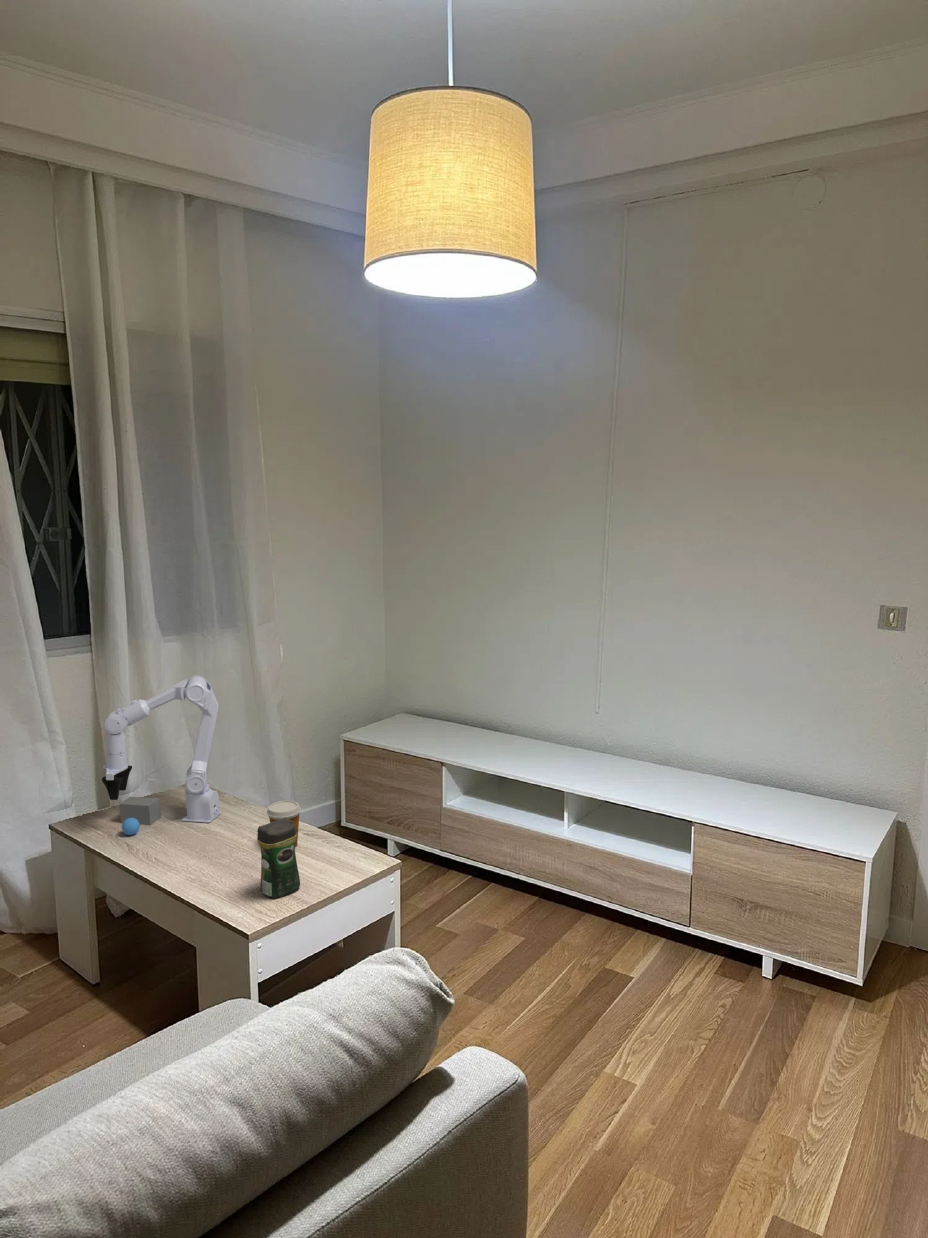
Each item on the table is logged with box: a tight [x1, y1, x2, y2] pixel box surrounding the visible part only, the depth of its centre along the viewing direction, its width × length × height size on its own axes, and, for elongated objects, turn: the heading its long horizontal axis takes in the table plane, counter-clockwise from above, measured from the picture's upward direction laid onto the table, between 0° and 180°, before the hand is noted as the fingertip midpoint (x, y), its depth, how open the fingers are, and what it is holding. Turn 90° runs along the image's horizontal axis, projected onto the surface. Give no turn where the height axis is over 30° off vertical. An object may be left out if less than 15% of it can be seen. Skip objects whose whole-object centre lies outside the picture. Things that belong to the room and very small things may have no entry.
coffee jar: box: [256, 818, 301, 899], centre depth 228 cm, size 10×8×19 cm
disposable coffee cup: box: [266, 800, 302, 848], centre depth 254 cm, size 10×10×12 cm
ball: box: [121, 818, 141, 836], centre depth 265 cm, size 5×5×5 cm
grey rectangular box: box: [118, 796, 162, 826], centre depth 275 cm, size 10×6×6 cm, turn 78°
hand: (118, 794), depth 270 cm, fingers open, 7 cm apart
